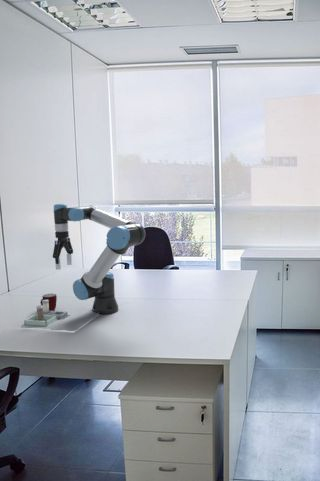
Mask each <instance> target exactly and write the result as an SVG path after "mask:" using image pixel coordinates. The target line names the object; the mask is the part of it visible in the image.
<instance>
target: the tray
mask: <svg viewBox="0 0 320 481" xmlns="http://www.w3.org/2000/svg"><path fill="white" fill-rule="evenodd" d="M43 316H44V321H37V320H38V318H37V314H33V315H31V316H30V317H28V318H26V319H24V321H23V323H24V325H26V326H41V327H48V326H49V325H51V324H53V323H54V322H56V321H58V319H57V316H51V315H43Z"/></svg>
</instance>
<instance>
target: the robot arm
mask: <svg viewBox="0 0 320 481" xmlns="http://www.w3.org/2000/svg"><path fill="white" fill-rule="evenodd" d="M53 219H54V220H53V222H54V230H55V232H54V235H55V238H56V239H57V240H54V247H53V251H52V252H53V253H52V258H53V259H54V260H55V270H60V271H61V268H62V267H61V266H62V265H61V258H60V257H61V253H62V250H63V248H64V250H65V251H66V266H72V265H73V263H72V262H73V261H72V260H73V259H72V254H74V249H73V246H72V243H71V238H70V235H69V232H70V231H69V222H80V221H85V220H89V221H92V222H94V223H97V224H99V225H101V226H104V227H105V228H108V229H109V230H108V231H107V233H106V242H105V243H106V246H105V248H104V249H103V250H102V252H101V253H100V255H99V257H98V258H97V260H95V262H94V264H93V265H92V267H91V268H90V269H89V270H88V271H86V272H84V273H83V275H82V276H81V278H80V279H76V280H75V281H74V282H73V283H72V292H73V294H74V296H75V297H76V298H77V300H80V301H85V300H88V299H92V298H94V300H93V304H92V312H93V313H98V314H99V315H107V314H113V313H116V312H118V311H119V305H118V302H117V300H116V296H115V293H116V292H115V278H114V276H115V275H114V274H113V272H111V271H110V270H111V268H112V267H113V266H114V264H115V263H116V261H117V260H118V259H119V257H120V256H122V255H125V254H126V253H127V251H128V250H129V249H130V247H135V246H138V245H141V244H142V243H143V242H144V240H145V238H146V229H145V227H144V226H143V225H142V224H141V223H138V222H137V221H134V220H127V219H124V218H121V217H119V216H116V215H115V214H114V215H113V214H111V213H109V212H106V211H104V210H101V209H100V208H99V207H98V206H97V205H92V204H91V205H86V206H85V205H84V206H75V207H68V205H67V204H66V203H56V204H54V205H53Z"/></svg>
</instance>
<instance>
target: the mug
mask: <svg viewBox="0 0 320 481" xmlns="http://www.w3.org/2000/svg"><path fill="white" fill-rule="evenodd" d="M42 300H49V311H55V310H56V307H57V300H58V298H57V294H56V293H45V294H42V298H41V300H40V306H43V303H42Z"/></svg>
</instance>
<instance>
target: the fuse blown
mask: <svg viewBox="0 0 320 481" xmlns="http://www.w3.org/2000/svg"><path fill="white" fill-rule="evenodd" d="M36 315H37V318H38V319H36V321H45V320H44V316H43V306H42V305H37V306H36Z"/></svg>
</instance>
